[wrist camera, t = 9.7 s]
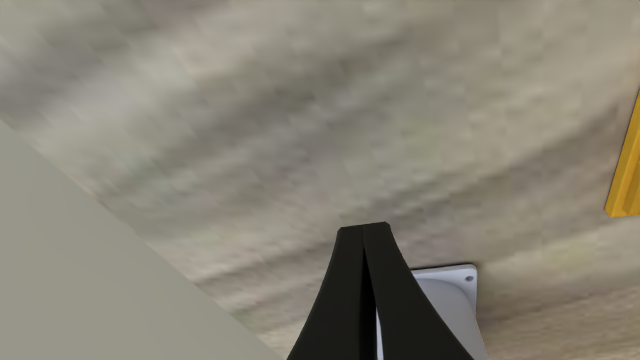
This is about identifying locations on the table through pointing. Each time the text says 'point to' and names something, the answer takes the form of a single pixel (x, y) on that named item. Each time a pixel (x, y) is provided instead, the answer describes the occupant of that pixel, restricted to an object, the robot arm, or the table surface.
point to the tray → (627, 173)
